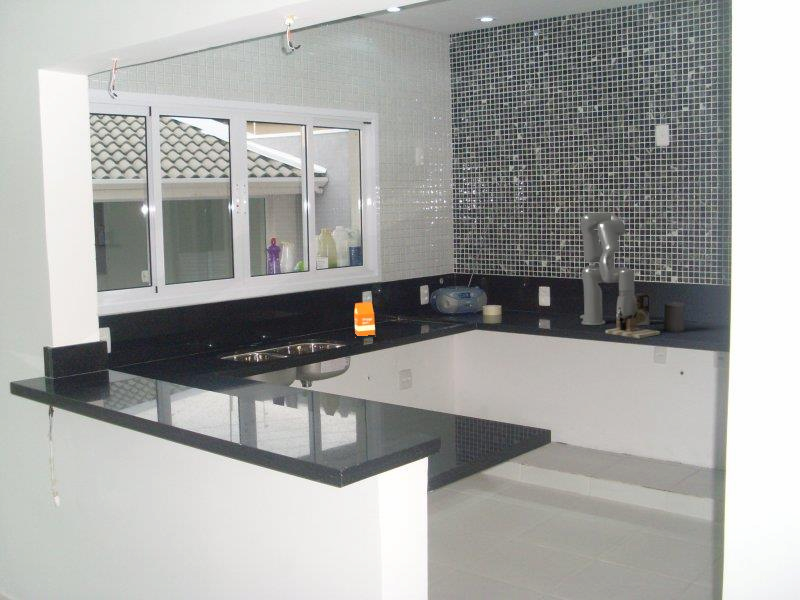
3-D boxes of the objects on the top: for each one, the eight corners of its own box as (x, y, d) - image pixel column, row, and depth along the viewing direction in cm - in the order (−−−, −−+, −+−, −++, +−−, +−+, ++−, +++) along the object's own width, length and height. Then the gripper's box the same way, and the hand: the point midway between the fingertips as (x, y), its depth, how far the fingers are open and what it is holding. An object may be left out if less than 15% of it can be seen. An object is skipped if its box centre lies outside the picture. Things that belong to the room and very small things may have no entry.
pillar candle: (660, 330, 442) (660, 301, 440) (672, 327, 448) (672, 299, 446) (676, 332, 434) (676, 303, 432) (688, 330, 440) (688, 300, 438)
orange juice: (375, 341, 450) (373, 302, 447) (359, 342, 447) (356, 304, 444) (371, 338, 457) (369, 301, 454) (355, 340, 455) (353, 302, 452)
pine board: (605, 333, 442) (605, 330, 442) (625, 329, 450) (625, 326, 450) (639, 338, 424) (639, 335, 423) (659, 334, 432) (659, 331, 432)
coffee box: (647, 323, 466) (647, 293, 464) (649, 325, 460) (649, 294, 457) (630, 323, 467) (629, 293, 465) (632, 325, 461) (631, 295, 458)
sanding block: (616, 329, 442) (616, 317, 441) (623, 328, 445) (623, 316, 444) (630, 331, 435) (630, 319, 434) (637, 330, 437) (636, 318, 437)
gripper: (632, 291, 445) (632, 326, 447) (609, 294, 436) (609, 330, 438) (644, 292, 439) (644, 327, 441) (620, 296, 429) (621, 332, 432)
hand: (627, 328), depth 439 cm, fingers closed on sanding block, 5 cm apart
